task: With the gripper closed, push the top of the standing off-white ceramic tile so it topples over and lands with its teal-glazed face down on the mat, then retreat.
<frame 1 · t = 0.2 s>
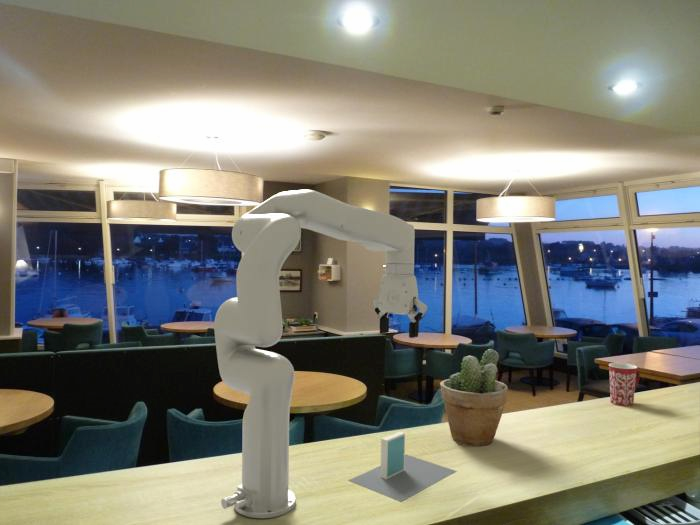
hand: (398, 334, 144), 30 cm above the worktop, fingers open, 9 cm apart
tile: (392, 473, 128), resting on mat
mat: (403, 477, 127), on the worktop
potted plant: (471, 440, 153), on the worktop
mug: (625, 403, 193), on the worktop
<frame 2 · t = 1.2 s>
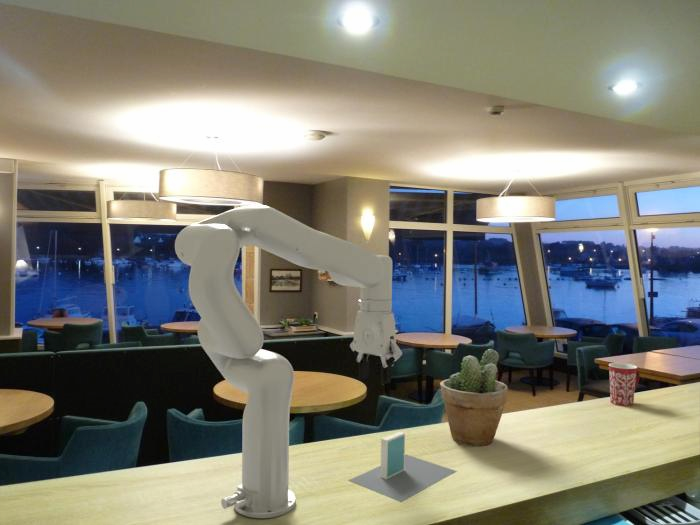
hand: (374, 379, 132), 22 cm above the worktop, fingers open, 6 cm apart
nothing on the worktop moved.
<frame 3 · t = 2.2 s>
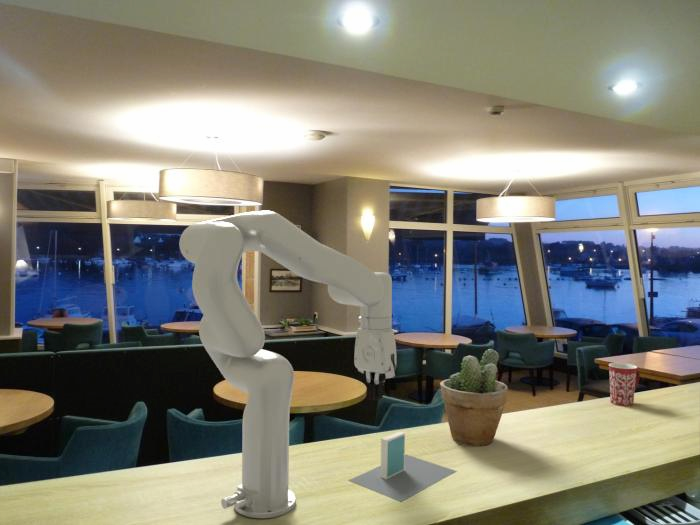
hand: (375, 398, 132), 17 cm above the worktop, fingers closed
nothing on the worktop moved.
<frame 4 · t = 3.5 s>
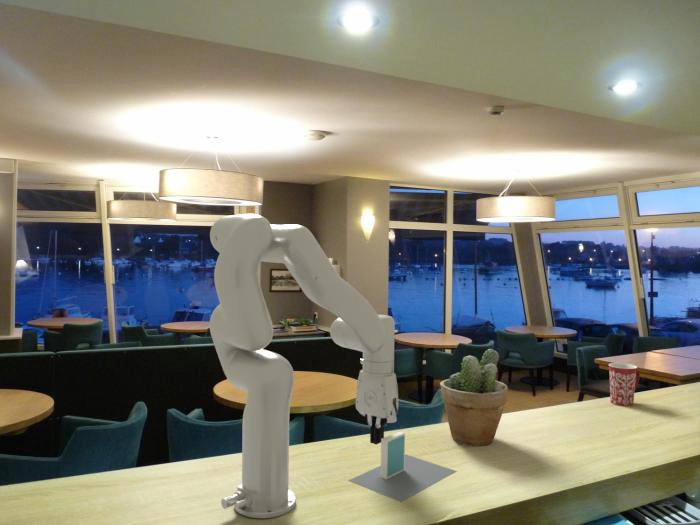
hand: (376, 442, 131), 7 cm above the worktop, fingers closed
nothing on the worktop moved.
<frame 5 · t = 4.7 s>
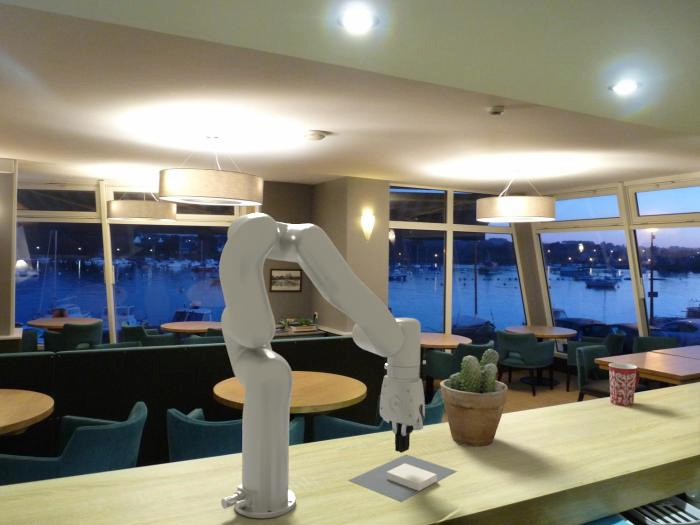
hand: (402, 450, 126), 7 cm above the worktop, fingers closed
tile: (395, 470, 128), point 1 cm above the worktop, tilted 90°, touching mat
everything else where it was.
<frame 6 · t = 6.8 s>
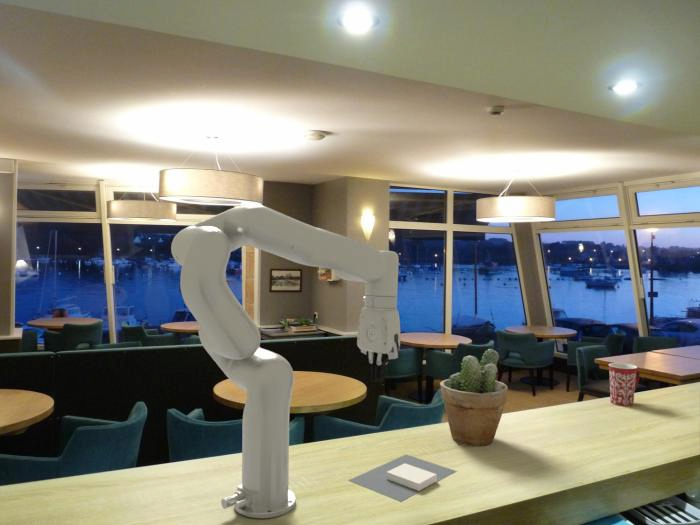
hand: (377, 380, 128), 22 cm above the worktop, fingers closed
nothing on the worktop moved.
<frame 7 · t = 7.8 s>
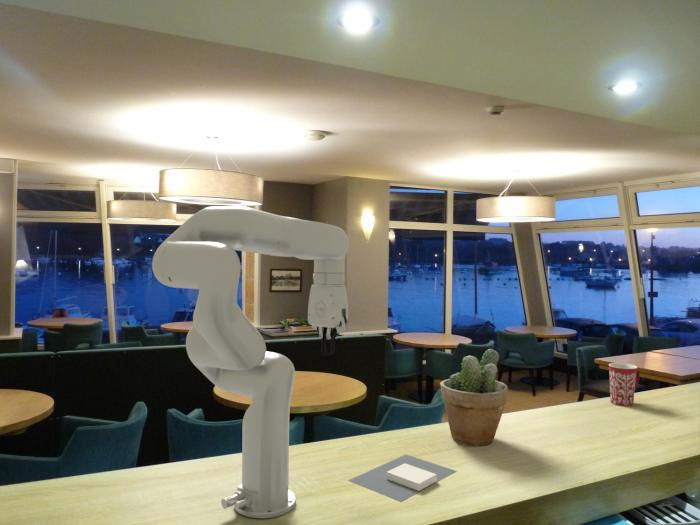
hand: (328, 354, 134), 27 cm above the worktop, fingers closed
nothing on the worktop moved.
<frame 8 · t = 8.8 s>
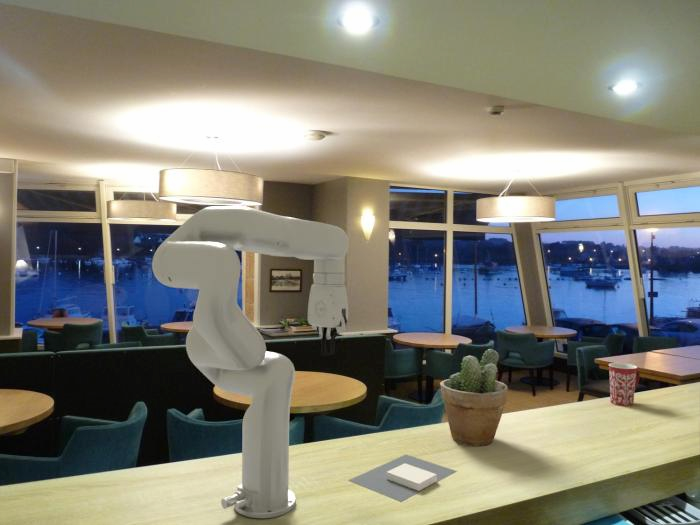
hand: (328, 354, 134), 27 cm above the worktop, fingers closed
nothing on the worktop moved.
at the end: tile tilted 90°; tile inside the target area (2.6 cm from its centre), point 1.3 cm above the worktop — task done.
